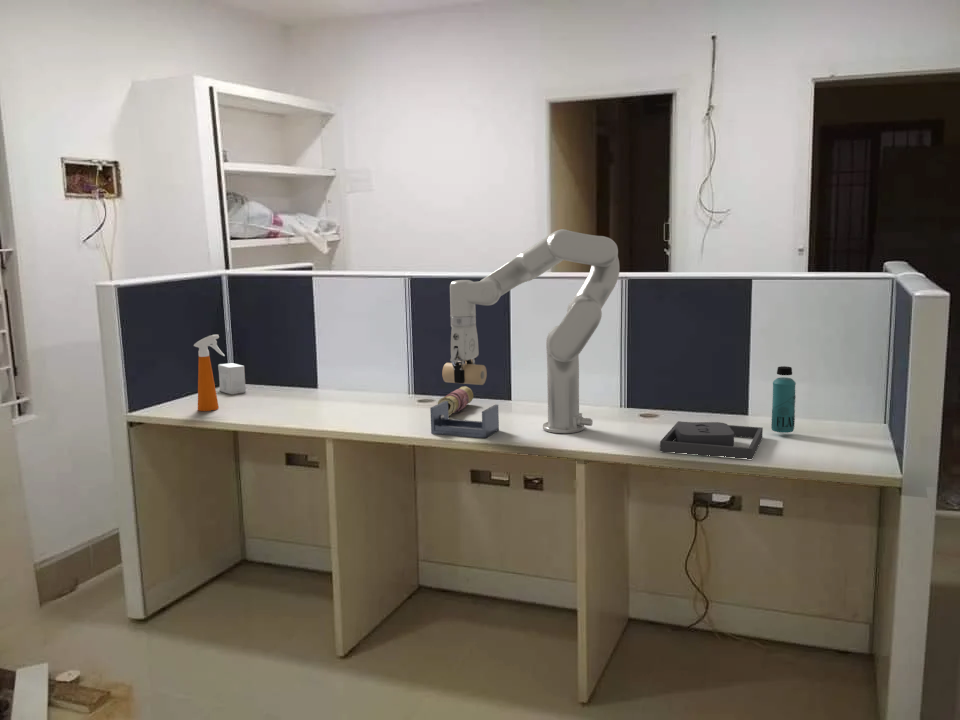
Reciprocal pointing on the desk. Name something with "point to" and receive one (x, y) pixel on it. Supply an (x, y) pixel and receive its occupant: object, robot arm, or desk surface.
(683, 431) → the streaming box
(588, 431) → the desk surface
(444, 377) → the roll
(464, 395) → the scroll
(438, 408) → the holder
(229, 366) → the skincare box
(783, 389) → the beverage bottle
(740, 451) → the speaker tray
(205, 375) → the spray bottle
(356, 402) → the desk surface
